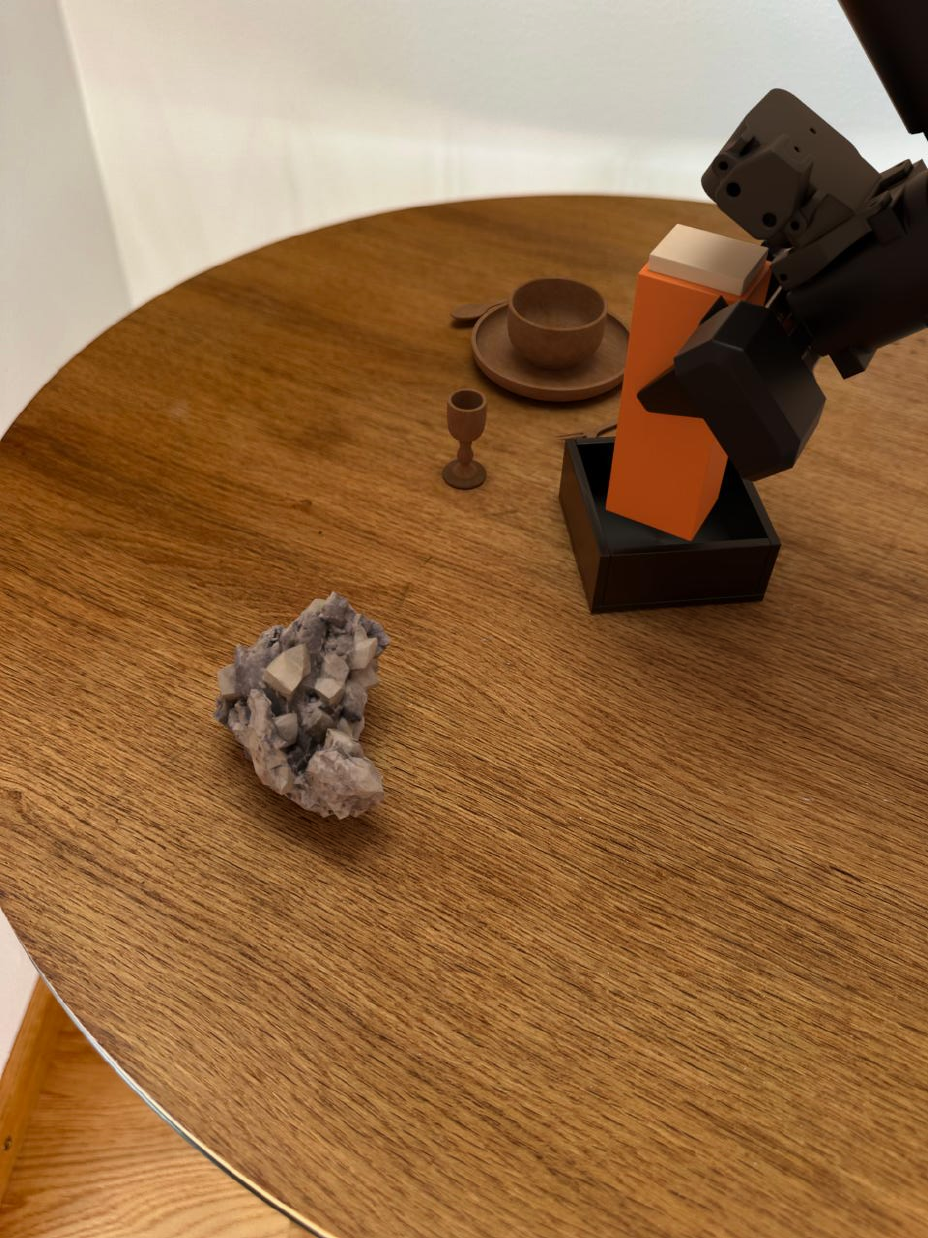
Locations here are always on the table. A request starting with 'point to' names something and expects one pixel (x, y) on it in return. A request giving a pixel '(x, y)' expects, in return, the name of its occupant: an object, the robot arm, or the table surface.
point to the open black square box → (663, 542)
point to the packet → (661, 324)
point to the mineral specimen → (308, 707)
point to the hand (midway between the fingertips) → (659, 379)
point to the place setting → (536, 357)
